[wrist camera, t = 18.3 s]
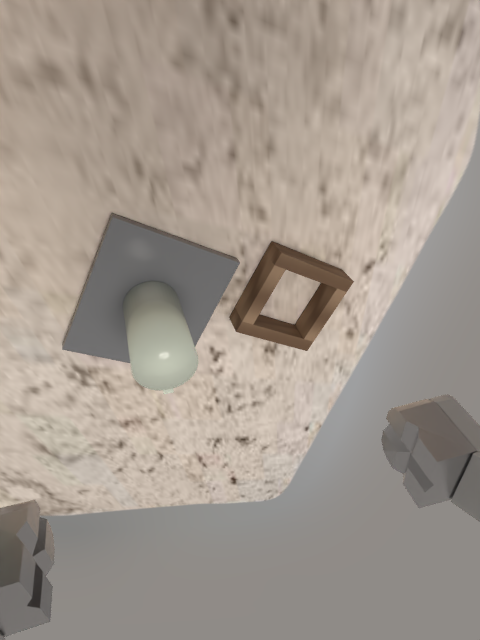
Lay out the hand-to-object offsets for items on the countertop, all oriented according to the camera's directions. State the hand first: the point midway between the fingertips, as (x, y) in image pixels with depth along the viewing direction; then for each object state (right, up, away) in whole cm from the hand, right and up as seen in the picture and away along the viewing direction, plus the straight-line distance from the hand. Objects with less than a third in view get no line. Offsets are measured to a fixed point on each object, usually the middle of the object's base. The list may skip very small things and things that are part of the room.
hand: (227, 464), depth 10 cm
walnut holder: (+6, +7, +43) cm, 44 cm away
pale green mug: (-9, +4, +38) cm, 39 cm away
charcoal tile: (-10, +5, +38) cm, 40 cm away
